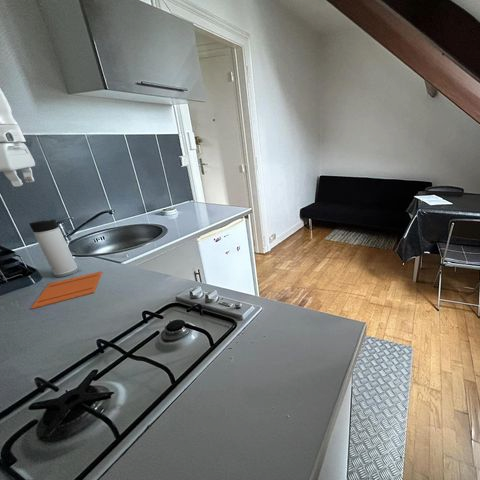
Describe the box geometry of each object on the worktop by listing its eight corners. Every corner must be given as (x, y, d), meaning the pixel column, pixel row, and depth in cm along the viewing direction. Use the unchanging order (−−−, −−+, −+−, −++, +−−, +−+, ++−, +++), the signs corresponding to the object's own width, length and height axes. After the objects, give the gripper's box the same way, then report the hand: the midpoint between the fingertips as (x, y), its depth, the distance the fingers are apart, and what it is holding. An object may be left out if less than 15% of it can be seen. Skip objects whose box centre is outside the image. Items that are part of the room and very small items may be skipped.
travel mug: (50, 279, 89) (21, 224, 81) (62, 270, 95) (36, 218, 87) (71, 276, 90) (45, 221, 83) (82, 267, 96) (59, 216, 89)
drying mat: (31, 309, 73) (30, 307, 73) (49, 284, 86) (48, 283, 85) (94, 292, 79) (93, 291, 79) (102, 272, 92) (101, 270, 92)
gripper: (2, 137, 83) (24, 181, 88) (-34, 136, 66) (-6, 190, 72) (30, 136, 86) (48, 179, 91) (1, 135, 69) (26, 186, 75)
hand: (24, 184), depth 81 cm, fingers open, 8 cm apart
